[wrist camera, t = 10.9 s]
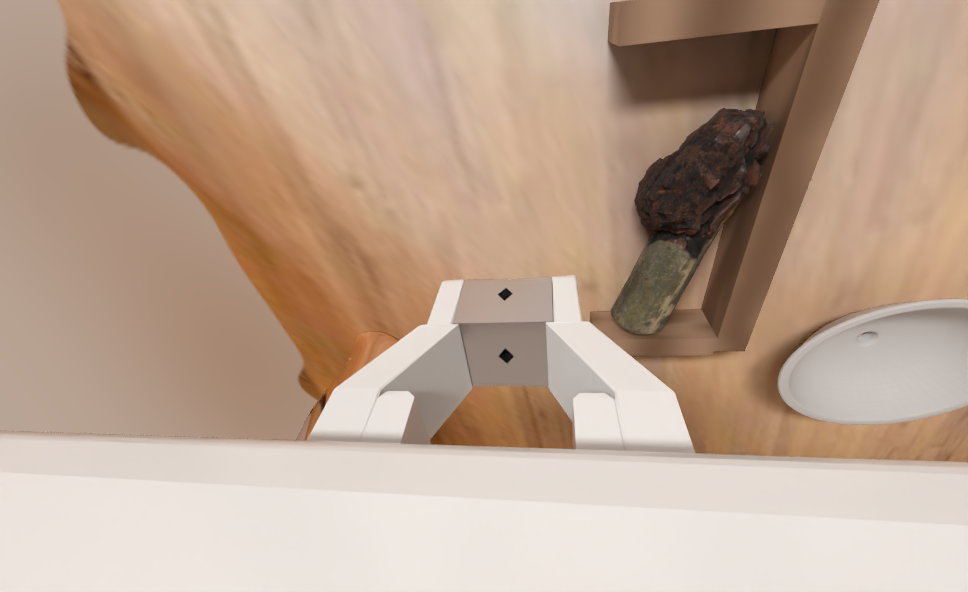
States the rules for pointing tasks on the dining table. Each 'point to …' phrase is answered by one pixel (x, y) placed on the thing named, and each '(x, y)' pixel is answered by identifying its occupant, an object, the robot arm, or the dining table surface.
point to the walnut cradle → (786, 168)
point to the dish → (882, 365)
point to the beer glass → (350, 371)
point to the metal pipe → (689, 211)
